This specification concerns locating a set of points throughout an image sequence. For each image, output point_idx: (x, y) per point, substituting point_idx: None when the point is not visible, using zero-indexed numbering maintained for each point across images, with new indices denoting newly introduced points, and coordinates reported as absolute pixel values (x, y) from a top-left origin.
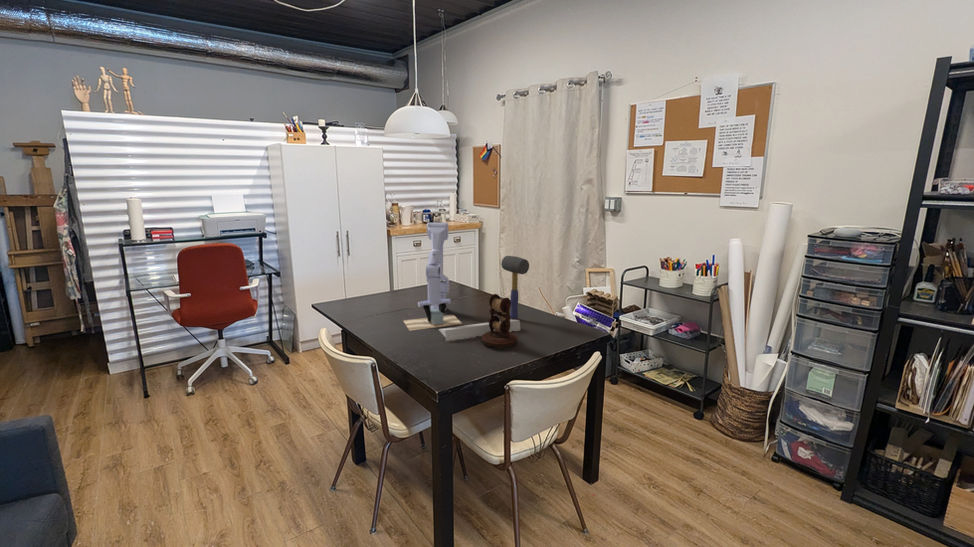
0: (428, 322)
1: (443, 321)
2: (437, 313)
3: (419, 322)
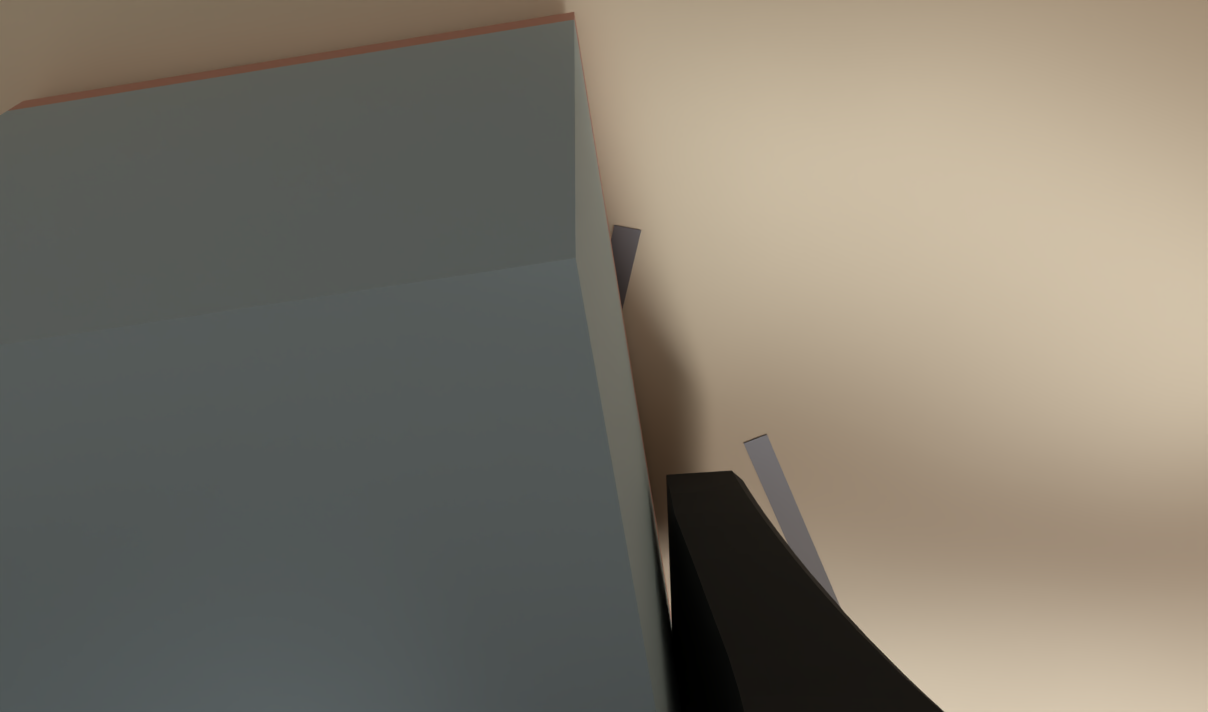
0: None
1: None
2: (135, 547)
3: (1068, 622)
